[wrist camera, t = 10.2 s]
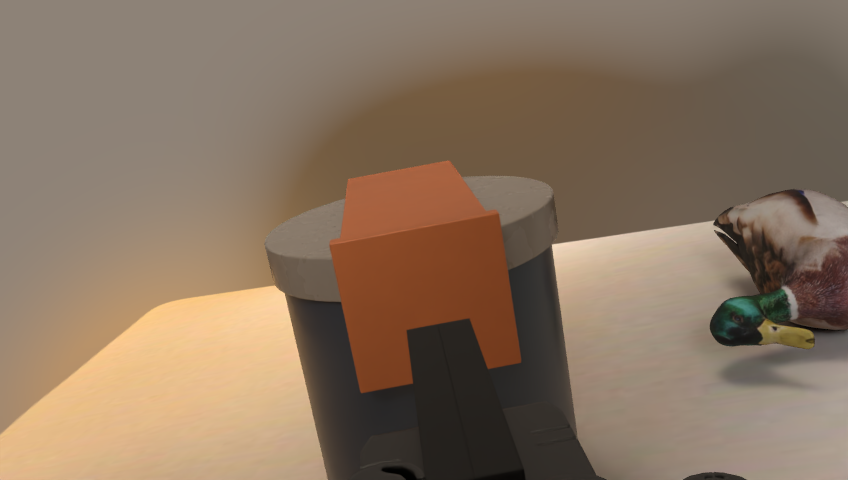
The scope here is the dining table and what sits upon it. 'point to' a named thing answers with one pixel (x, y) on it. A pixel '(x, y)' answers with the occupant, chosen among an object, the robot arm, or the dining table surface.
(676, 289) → the dining table surface
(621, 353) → the dining table surface
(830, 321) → the decorative duck model
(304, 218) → the travel mug
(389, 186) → the lid slider
